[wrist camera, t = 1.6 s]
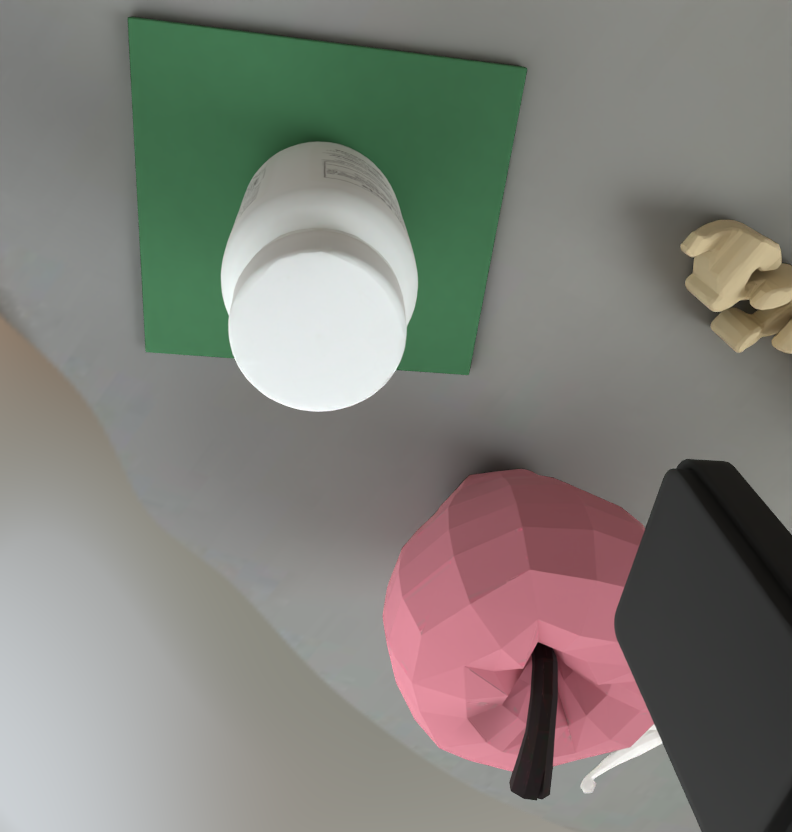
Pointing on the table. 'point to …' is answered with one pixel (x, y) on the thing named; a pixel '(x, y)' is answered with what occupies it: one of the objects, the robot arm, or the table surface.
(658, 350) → the table surface
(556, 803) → the table surface
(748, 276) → the decorative script
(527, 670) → the apple
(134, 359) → the table surface
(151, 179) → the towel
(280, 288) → the pill bottle
